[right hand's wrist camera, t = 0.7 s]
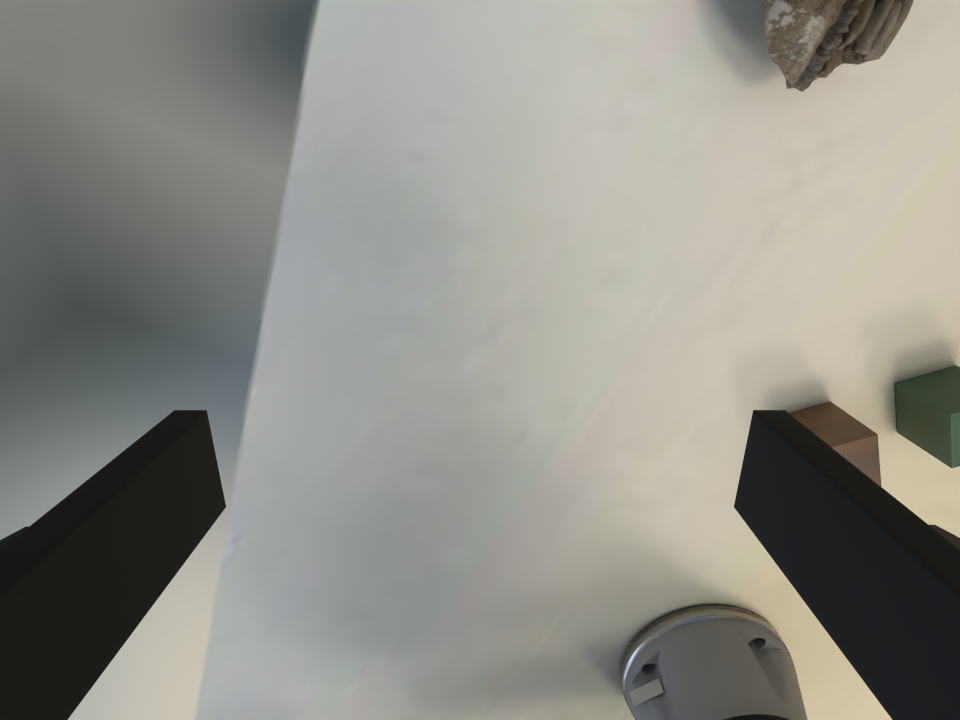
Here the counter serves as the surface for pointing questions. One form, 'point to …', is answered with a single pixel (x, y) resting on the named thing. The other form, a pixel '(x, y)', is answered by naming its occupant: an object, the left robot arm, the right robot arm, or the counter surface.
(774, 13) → the fossil
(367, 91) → the counter surface
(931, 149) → the counter surface
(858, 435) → the walnut block
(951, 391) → the green block
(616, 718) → the counter surface
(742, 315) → the counter surface
